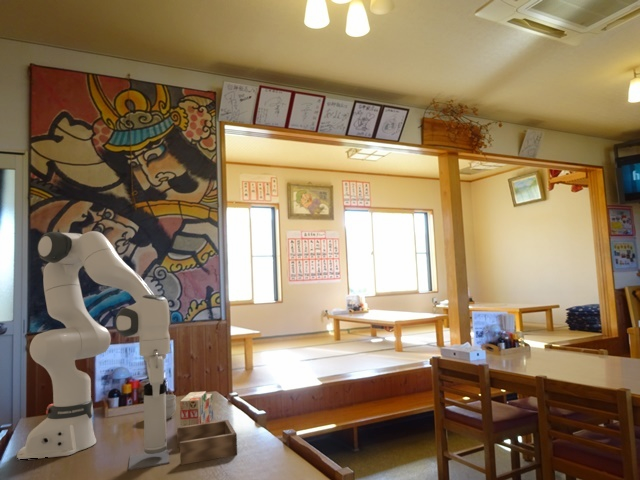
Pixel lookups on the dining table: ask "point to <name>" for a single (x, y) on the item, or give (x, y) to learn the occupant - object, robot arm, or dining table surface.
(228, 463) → the dining table surface
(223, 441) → the walnut box
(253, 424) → the dining table surface
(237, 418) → the dining table surface
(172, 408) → the teacup
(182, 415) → the stack of blocks
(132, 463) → the grey square plate
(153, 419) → the travel mug
